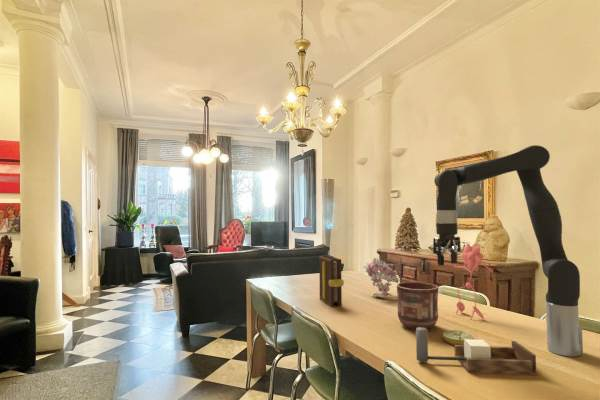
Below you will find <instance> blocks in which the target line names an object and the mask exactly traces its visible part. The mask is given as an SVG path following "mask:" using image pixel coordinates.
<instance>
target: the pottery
mask: <svg viewBox="0 0 600 400" xmlns="http://www.w3.org/2000/svg"><path fill="white" fill-rule="evenodd" d="M439 289H440V288H439V286H438V285H436V284H432V283H428V282H421V281H405V282H404V281H403V282H399V283H397V284H396V293H397V317H398V319H399V321H400V323H401V324H402V325H403V327H404V328H406V329H408V330H412V331H416V328H418V327H422V328H426V329H427V331H430V330H431V329H432V328H433V327H434V326H435V325H436V324H437V322H438V320H439V310H438V309H439V308H438V307H439V305H438V302H439V300H438V299H439Z"/></svg>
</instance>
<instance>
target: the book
mask: <svg viewBox="0 0 600 400" xmlns="http://www.w3.org/2000/svg"><path fill="white" fill-rule="evenodd" d="M318 259H319V261H318V262H319V270H318V271H319V300H320V301H322V302H323V303H325V304H327V305H328V306H329V307H331V308H333V307H334V308H335V305H337V306H338V307H341V306H342V305H343V301H342V295H343V293H342V291H343V290H342V287H343V286H344V282H345V281H344V279H342V259H341V258H338V257H335V256H331V255H319V257H318Z"/></svg>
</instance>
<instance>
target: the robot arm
mask: <svg viewBox="0 0 600 400" xmlns="http://www.w3.org/2000/svg"><path fill="white" fill-rule="evenodd" d="M550 157H551V156H550V152H549V150H548V149H547V148H545V147H544V146H542V145H538V144H537V145H529V146H527V147H524V148H523V149H521V150H519V151H517V152H514V153H511V154H508V155H504V156H501V157H497V158H493V159H488V160H483V161H479V162H475V163H471V164H468V165H464V166H462V167H459V168H455V169H451V170H450V169H445V170H443V171H440V172H439V173H437V174H436V175H435V177H434V181H433V182H434V185H435V186H436V188H438V190H437V191H438V193H437V194H438V195H437V197H436V213H435V223H436V225H435V226H436V229H435V230H436V231H435V233H436V235H438V237H434V238H433V239H432V240H433V242H432V246H433V251H432V252H433V255H434V254H435V255H436V256H437V265H438V266H441V267H443V266H444V265H445V252H446V251H447V250H449V251H450V254H451V253H452V254H451V258H450V264H455V265H456V264H457V263H458V259H457V255H458V254H459V253H460V252H461V249H462V248H461V237H460V236H456V235H458V214H457V193H458V186H461V185H466V184H473V183H477V182H480V181H481V182H482V181H485V180H489V179H491V178H494V177H497V176H500V175H501V176H502V175H504V174H508V173H512V172H516V174H517V176H518V178H519V181H520V183H521V186H522V190H523V193H524V194H523V195H524V198H525V202H526V206H527V211H528V215H529V219H530V222H531V226H532V229H533V233H534V236H535V238H536V240H537V243H538V244H537V245H538V246H539V253H540V258H541V259H540V261H541V266H542V272H543V274H544V276H545V277H546V278H547V292H546V294H545V312H546V340H547V341H546V343H547V344H546V345H547V350H548V351H550V352H551V353H553V354H556V355H559V356H564V357H574V358H575V357H579V356H584V346H583V345H584V343H583V328H582V326H580V322H579V321H580V319H579V315H580V314H579V299H580V295H581V275H580V270H579V268H578V266H577V264H575V263H574V262H572V261H571V260H569V259H568V257H567V254H566V251H565V248H564V246H563V245H564V244H563V239H562V238H563V222H562V216H561V212H560V209H559V205H558V202H557V200H556V199H555V197H554V196H553V195H552V193H551V192H550V190H549V189H548V188H547V186H546V185H545V182H544V180H543V177H542V174H541V169H542V168H544V167H546V165H547V164H548V163H549V161H550Z"/></svg>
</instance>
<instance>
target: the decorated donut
mask: <svg viewBox="0 0 600 400" xmlns="http://www.w3.org/2000/svg"><path fill="white" fill-rule="evenodd" d="M442 337H443V340H444V341H445V342H446V343H448V344H449V345H451V346H455V345H464V339H474V338H475V336H473V334H471V333H469V332H466V331H462V330H455V329H454V330H446V331H444V332H443V334H442ZM474 340H475V339H474Z"/></svg>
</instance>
